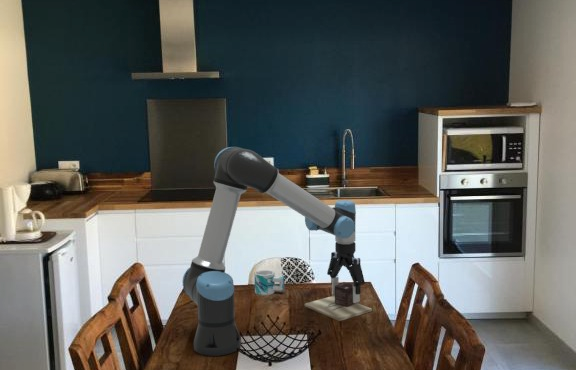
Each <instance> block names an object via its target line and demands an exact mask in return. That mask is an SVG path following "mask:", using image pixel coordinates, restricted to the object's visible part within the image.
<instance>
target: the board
mask: <svg viewBox="0 0 576 370" xmlns="http://www.w3.org/2000/svg"><path fill="white" fill-rule="evenodd" d="M304 307H306V308H308V309H310V310H312V311H315V312H317V313H320V314H321V315H323V316H326V317H329V318H331V319H333V320H335V321H338V322H341V321H345V320H347V319H351V318H355V317H358V316H361V315H364V314H367V313H371V312H372V311H373V309H372V308H371V307H369V306H365V305H364V304H361V303H359V302H357V303H355V304H353V305H351V306H349V307H345V306H341V305H337V304H335V295H331V296H328V297H323V298H320V299H316V300H313V301H310V302H306V303H304Z"/></svg>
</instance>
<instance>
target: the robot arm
mask: <svg viewBox="0 0 576 370" xmlns="http://www.w3.org/2000/svg"><path fill="white" fill-rule="evenodd" d="M213 167H214V171H215V173H214V177H213V185H214V186H215V192H214V195H213V199H212V203H211V206H210V211H209V215H208V217H207V221H206V225H205V228H204V232H203V237H202V239H201V244H200V247H199V251H198V255H197V256H196V257H194V258H192V259H191V262H190V263H191V264H190V267H188V268H187V269H186V270H185V272H184V273H183V277H182V286H183V290H184V292H185V294H186V296H187V297H188V298H189V299H190V300H192V301H193V303H195V304H196V306H197V319H198V320H197V323H198V325H197V328H196V332H195V336H194V339H193V351H195V353H198V354H199V355H202V356H208V357H209V356H210V357H219V356H220V357H221V356H226V355H230V354H232V353H234V352H236V351H238V350H237V349H236V348H239V349H241V347H240V346H242V344H241V343H242V339H241V335H240V333H239V330H238V328H237V327H238V326H237V325H236V321H235V318H236V314H235V285H234V280H233V276H231V275H230V274H228V273H227V272H225V271H226V266H225V265H224V263H223V261H224V258H225V254H226V250H227V247H228V243H229V239H230V236H231V231H232V229H233V224H234V220H235V217H236V213H237V210H238V206H239V203H240V199H241V195H242V194H244V193H246V192H247V191H248V188H251V189H253V190H256V192H258V193H260V194H268V195H269V196H271V197H272V198H274V199H276V200H277V201H278V202H280V203H281V204H284V205H285V206H287V207H289V208H290V209H292V210H293V211H294V212H296V213H298V214H300V215H301V216H303V217H304V223H305V227H306V228H307V229H308V231H312V232H313V231H316V232H317V231H322V232H325V233H328V234H330V235H333V236H334V237H335V247H334V248H335V251H332V252H331V254H330V261H329V265H328V267H327V275H328V276H329V277H330V284H331V296H334V295H335V286H336V285H338V284H340V283H339V273H340V271H341V270H342V267H344V268H346V270H347V271H349V272H348V273H349V274H350V277H351V279H352V280H351V281H352V283H353V284H354V286H353V303H359V302H360V301H361V300H360V297H361V296H360V295H361V293H362V292H361V286H363V285H365V284H366V281H365V277H364V274H363V270H362V269H363V268H362V265H361V258H360V257H355V255H354V254H355V252H356V250H357V249H356V247H357V245H356V216H357V215H356V213H357V212H356V210H357V209H356V203H355V201H352V200H347V199H346V200H345V199H344V200H337V201H335V202H334V203H335V204H334V207H331V206H330V205H328V204H327V203H325V202H323V201H322V200H320V199H318V198H317V197H316V196H314V195H313V194H311V193H310V192H308V191H307V190H305V189H303V188H302V187H300V185H298V184H296V183H294V182H293V181H291V180H290V179H288V178H287V177H285V176H284V175H282V174H280V173H279V168H278V167H276V166H274V165H273V164H272V163H270V162H269V161H268V160H266V159H265V158H263V157H262V156H261V155H260V154H258V153H256V152H255V151H254V150H251V149H247V148H242V147H239V146H230V147H225V148H223V149H221V150H220V151H219V152H218V153H217V155H216V156H215V158H214V165H213Z"/></svg>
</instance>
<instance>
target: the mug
mask: <svg viewBox="0 0 576 370" xmlns="http://www.w3.org/2000/svg"><path fill="white" fill-rule="evenodd" d="M277 283H279V284H277ZM284 290H285V276H275V271H273V270H270V269H261V270H256V271H255V272H254V293H255V295H258V296H269V295H273V294H275V292H276V291H280V292H283V291H284Z"/></svg>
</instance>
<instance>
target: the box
mask: <svg viewBox="0 0 576 370" xmlns="http://www.w3.org/2000/svg"><path fill="white" fill-rule="evenodd" d="M353 286H354V283H350V282H345V281H342V282H341V283H339V284H338V285H336V286H335V304H337V305H341V306H345V307H349V306H351V305H353V304H355V303H353Z"/></svg>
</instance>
